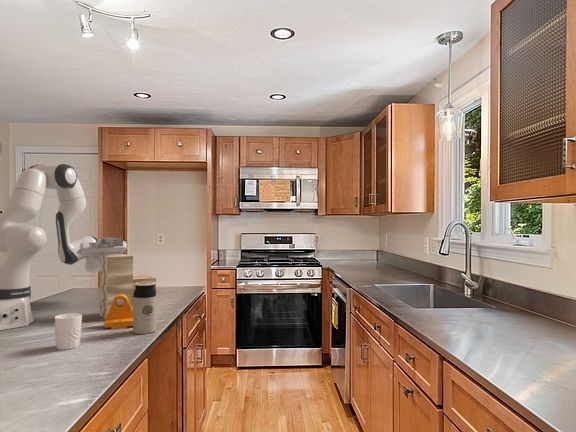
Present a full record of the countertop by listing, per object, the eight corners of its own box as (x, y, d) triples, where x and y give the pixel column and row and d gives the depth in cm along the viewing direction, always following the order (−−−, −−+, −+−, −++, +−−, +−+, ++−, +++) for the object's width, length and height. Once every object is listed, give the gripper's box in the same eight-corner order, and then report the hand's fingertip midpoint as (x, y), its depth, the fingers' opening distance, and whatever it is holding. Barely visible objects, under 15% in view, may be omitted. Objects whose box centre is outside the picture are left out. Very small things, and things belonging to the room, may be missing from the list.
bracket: (103, 329, 154) (104, 297, 154) (105, 325, 161) (106, 294, 161) (134, 327, 158) (134, 296, 158) (135, 323, 164) (135, 293, 165)
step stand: (99, 315, 177) (100, 255, 177) (145, 309, 190) (146, 253, 190) (107, 320, 168) (108, 257, 168) (155, 314, 180) (156, 255, 181)
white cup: (75, 341, 139) (75, 312, 139) (86, 346, 134) (86, 315, 134) (50, 347, 133) (50, 316, 133) (60, 352, 128) (60, 319, 128)
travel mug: (133, 329, 154) (133, 281, 154) (155, 328, 157) (155, 281, 157) (132, 335, 147) (133, 285, 147) (156, 333, 150) (156, 284, 150)
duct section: (100, 244, 189) (100, 237, 189) (109, 243, 191) (109, 237, 191) (113, 246, 173) (113, 239, 173) (122, 246, 176) (123, 239, 176)
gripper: (75, 248, 191) (81, 234, 182) (120, 246, 204) (128, 233, 195) (76, 260, 189) (83, 247, 180) (122, 258, 202) (130, 245, 192)
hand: (107, 240), depth 187 cm, fingers closed on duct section, 4 cm apart
